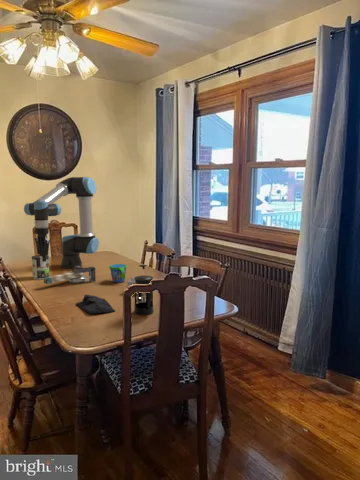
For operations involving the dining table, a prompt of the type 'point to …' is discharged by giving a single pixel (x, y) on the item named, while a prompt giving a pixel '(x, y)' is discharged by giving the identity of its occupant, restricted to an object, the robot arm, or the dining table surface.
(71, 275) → the link
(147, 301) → the french press
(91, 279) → the keeper
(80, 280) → the pin plate
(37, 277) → the coffee can
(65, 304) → the dining table surface
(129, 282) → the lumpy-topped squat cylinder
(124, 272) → the snack cup
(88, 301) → the black folded cloth
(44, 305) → the dining table surface
